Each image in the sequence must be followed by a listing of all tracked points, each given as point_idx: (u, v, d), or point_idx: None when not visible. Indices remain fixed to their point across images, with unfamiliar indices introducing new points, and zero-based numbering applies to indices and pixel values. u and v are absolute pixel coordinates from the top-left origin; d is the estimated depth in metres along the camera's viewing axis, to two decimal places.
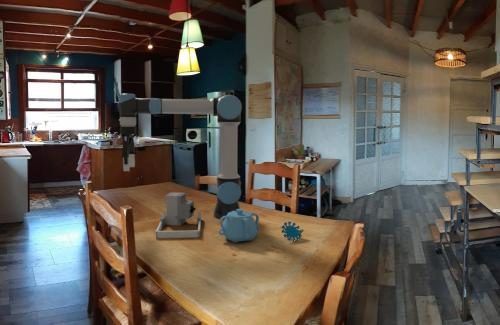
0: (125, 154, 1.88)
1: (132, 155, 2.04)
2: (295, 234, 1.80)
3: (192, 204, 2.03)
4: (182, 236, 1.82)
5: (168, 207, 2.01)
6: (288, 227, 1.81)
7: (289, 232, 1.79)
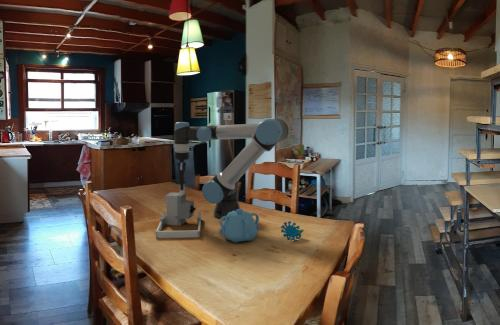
0: (182, 181, 2.09)
1: None
2: (295, 234, 1.80)
3: (192, 204, 2.03)
4: (182, 236, 1.82)
5: (168, 207, 2.01)
6: (288, 227, 1.81)
7: (289, 232, 1.79)
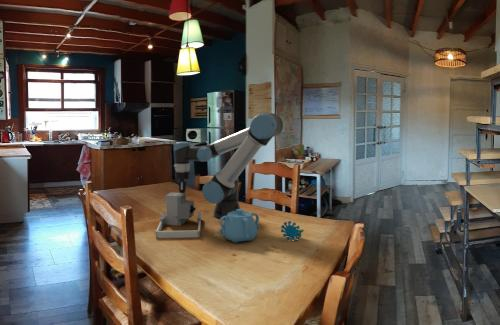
0: None
1: None
2: (295, 234, 1.80)
3: (192, 204, 2.03)
4: (182, 236, 1.82)
5: (168, 207, 2.01)
6: (288, 227, 1.81)
7: (289, 232, 1.80)
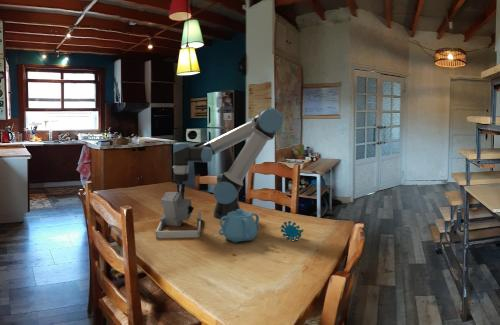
0: None
1: None
2: (294, 234, 1.80)
3: (189, 204, 1.99)
4: (182, 236, 1.82)
5: (165, 210, 1.97)
6: (288, 227, 1.81)
7: (288, 232, 1.80)
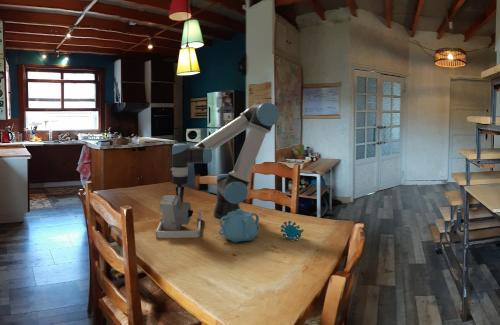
0: None
1: None
2: (294, 234, 1.80)
3: (189, 207, 1.92)
4: (182, 236, 1.82)
5: (164, 214, 1.89)
6: (288, 226, 1.82)
7: (288, 231, 1.80)
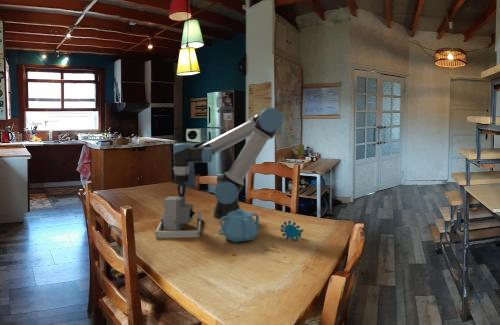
0: None
1: None
2: (294, 233, 1.80)
3: (191, 208, 1.95)
4: (182, 236, 1.82)
5: (166, 212, 1.92)
6: (287, 226, 1.82)
7: (288, 231, 1.80)
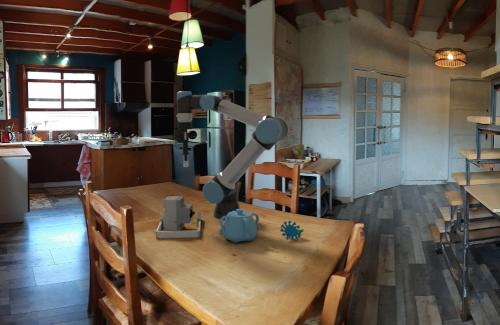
0: (186, 151, 2.06)
1: None
2: (294, 233, 1.80)
3: (191, 208, 1.95)
4: (182, 236, 1.82)
5: (166, 212, 1.92)
6: (287, 226, 1.82)
7: (288, 231, 1.80)
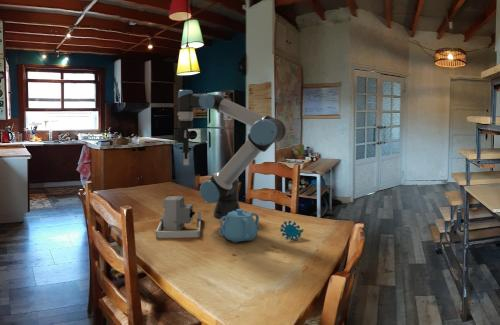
0: (186, 149, 2.08)
1: None
2: (294, 233, 1.81)
3: (191, 208, 1.95)
4: (182, 236, 1.82)
5: (166, 212, 1.92)
6: (287, 226, 1.82)
7: (288, 231, 1.80)
